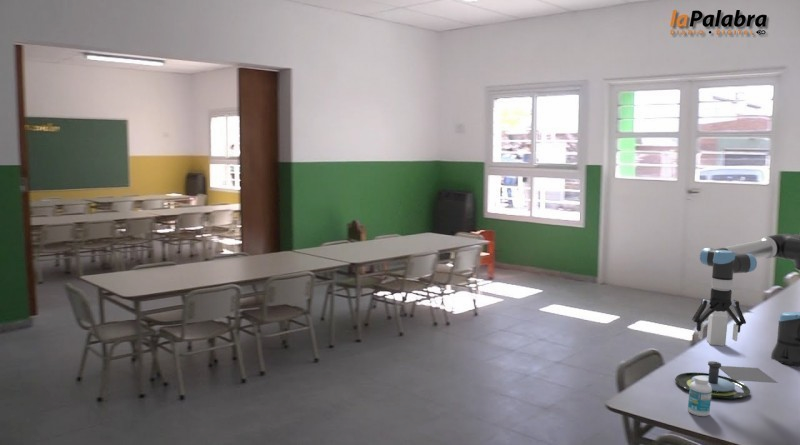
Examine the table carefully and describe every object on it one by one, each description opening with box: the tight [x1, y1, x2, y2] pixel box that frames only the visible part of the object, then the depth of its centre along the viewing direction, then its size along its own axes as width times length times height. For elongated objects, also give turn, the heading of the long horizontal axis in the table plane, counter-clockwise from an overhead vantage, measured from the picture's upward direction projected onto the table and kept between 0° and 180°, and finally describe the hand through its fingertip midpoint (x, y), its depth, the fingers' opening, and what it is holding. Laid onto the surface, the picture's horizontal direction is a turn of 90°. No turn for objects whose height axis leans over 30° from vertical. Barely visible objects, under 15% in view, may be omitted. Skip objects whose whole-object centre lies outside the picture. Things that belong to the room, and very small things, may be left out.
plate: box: [674, 372, 751, 400], centre depth 264 cm, size 28×28×2 cm
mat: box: [719, 365, 778, 384], centre depth 280 cm, size 18×18×1 cm
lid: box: [692, 360, 736, 392], centre depth 263 cm, size 16×16×9 cm
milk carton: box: [706, 311, 729, 347], centre depth 324 cm, size 7×7×19 cm
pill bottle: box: [687, 376, 712, 417], centre depth 237 cm, size 8×7×14 cm
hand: (717, 339), depth 262 cm, fingers open, 13 cm apart
